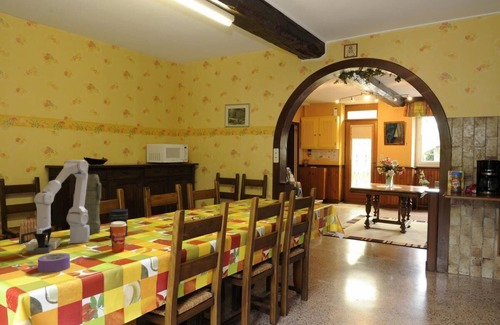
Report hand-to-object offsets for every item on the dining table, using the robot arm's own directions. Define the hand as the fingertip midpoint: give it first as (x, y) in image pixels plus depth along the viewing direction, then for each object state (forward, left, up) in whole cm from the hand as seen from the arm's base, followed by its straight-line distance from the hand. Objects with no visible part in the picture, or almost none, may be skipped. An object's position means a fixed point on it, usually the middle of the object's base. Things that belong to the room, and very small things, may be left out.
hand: (43, 245), depth 173 cm
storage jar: (-32, -28, -3) cm, 42 cm away
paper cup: (-35, +5, -3) cm, 35 cm away
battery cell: (0, 0, -2) cm, 2 cm away
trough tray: (+2, -9, -3) cm, 10 cm away
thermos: (-16, -39, -3) cm, 42 cm away
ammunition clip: (+13, -22, -3) cm, 26 cm away
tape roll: (-11, +27, -3) cm, 30 cm away
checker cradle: (+1, 0, -3) cm, 3 cm away
